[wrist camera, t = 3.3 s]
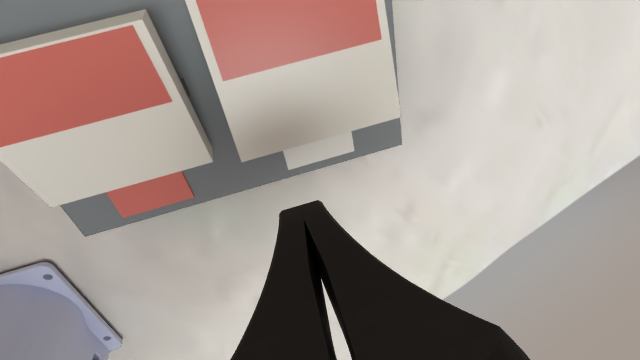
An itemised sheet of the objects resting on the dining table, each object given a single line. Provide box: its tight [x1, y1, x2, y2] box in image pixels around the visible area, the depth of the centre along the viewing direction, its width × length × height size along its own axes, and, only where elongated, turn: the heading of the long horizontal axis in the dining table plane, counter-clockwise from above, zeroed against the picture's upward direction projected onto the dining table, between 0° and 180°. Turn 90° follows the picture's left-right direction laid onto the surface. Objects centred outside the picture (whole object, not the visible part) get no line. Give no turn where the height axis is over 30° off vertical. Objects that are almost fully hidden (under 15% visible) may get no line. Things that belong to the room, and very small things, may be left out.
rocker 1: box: [0, 9, 213, 208], centre depth 15 cm, size 7×8×1 cm
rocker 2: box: [185, 0, 401, 162], centre depth 16 cm, size 7×8×1 cm
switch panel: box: [0, 0, 402, 237], centre depth 17 cm, size 12×19×3 cm, turn 101°
